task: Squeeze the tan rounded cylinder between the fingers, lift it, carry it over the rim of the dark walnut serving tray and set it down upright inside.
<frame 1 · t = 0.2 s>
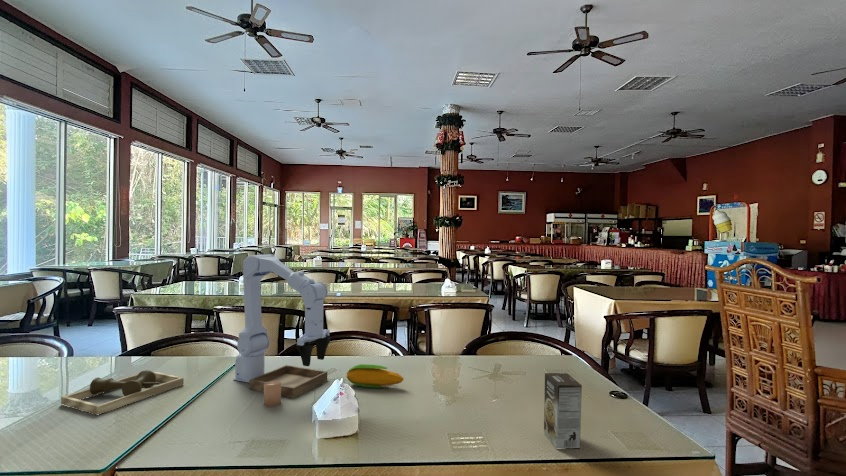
hand: (313, 362, 143), 10 cm above the table, tool pointing down, fingers open, 7 cm apart
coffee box: (561, 441, 113), on the table
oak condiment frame: (126, 394, 139), on the table
corn: (375, 387, 150), on the table
walnut tray: (289, 384, 150), on the table
kendama: (127, 394, 139), resting in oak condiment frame
tan rounded cylinder: (272, 403, 134), on the table
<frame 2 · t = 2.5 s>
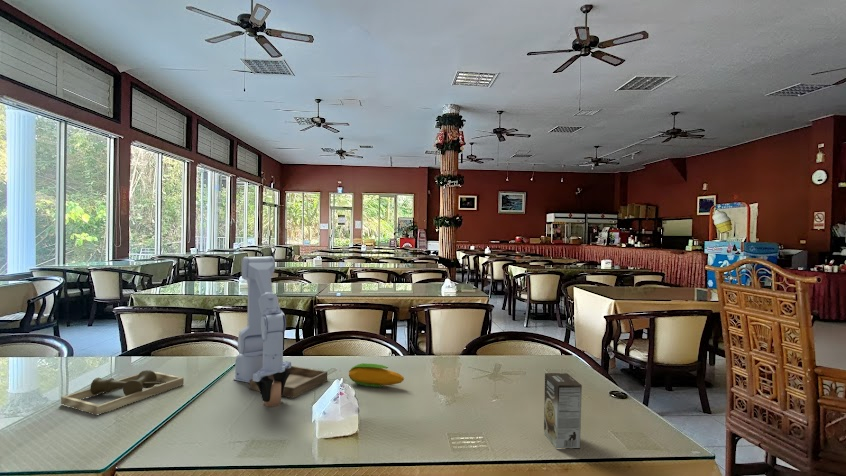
hand: (272, 397, 134), 2 cm above the table, tool pointing down, fingers closed on tan rounded cylinder, 5 cm apart
tan rounded cylinder: (272, 403, 134), on the table, touching gripper
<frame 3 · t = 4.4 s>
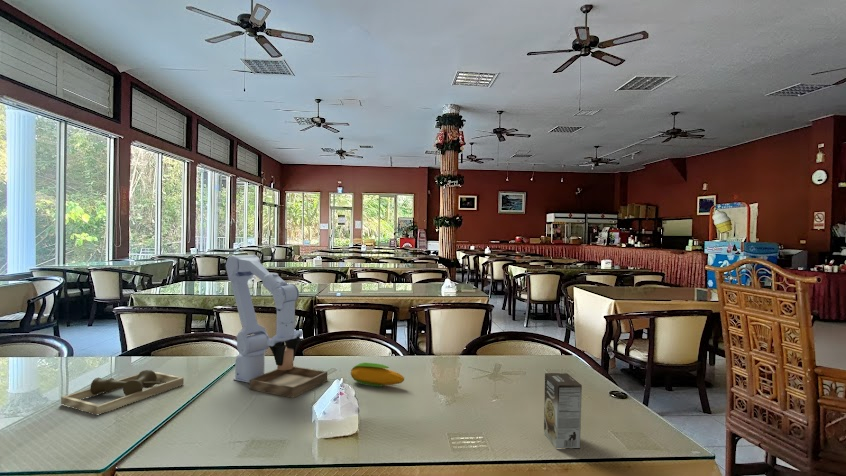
hand: (285, 362, 146), 9 cm above the table, tool pointing down, fingers closed on tan rounded cylinder, 5 cm apart
tan rounded cylinder: (285, 367, 146), point 7 cm above the table, touching gripper
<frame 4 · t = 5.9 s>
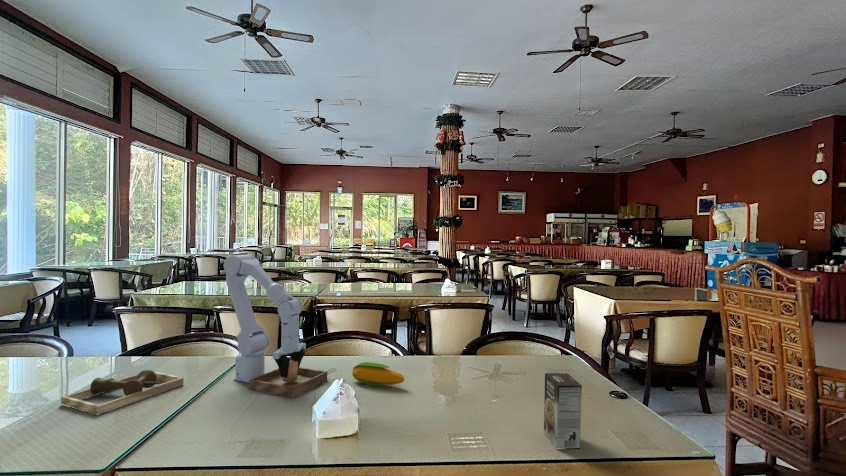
hand: (289, 374, 150), 3 cm above the table, tool pointing down, fingers closed on tan rounded cylinder, 5 cm apart
tan rounded cylinder: (290, 379, 150), point 2 cm above the table, touching gripper
when the fingers open (3 cm above the table, at t = 6.7 s): tan rounded cylinder drops 1 cm, resting on walnut tray.
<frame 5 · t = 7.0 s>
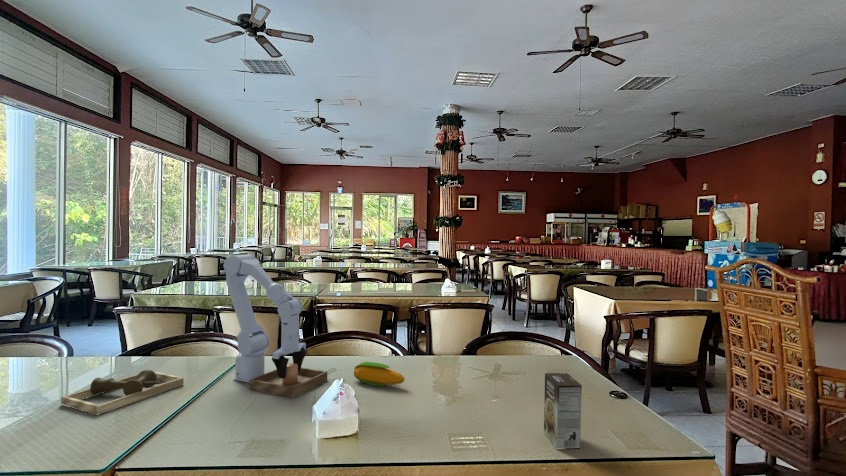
hand: (289, 374, 150), 3 cm above the table, tool pointing down, fingers open, 7 cm apart
tan rounded cylinder: (290, 382, 150), point 1 cm above the table, touching walnut tray
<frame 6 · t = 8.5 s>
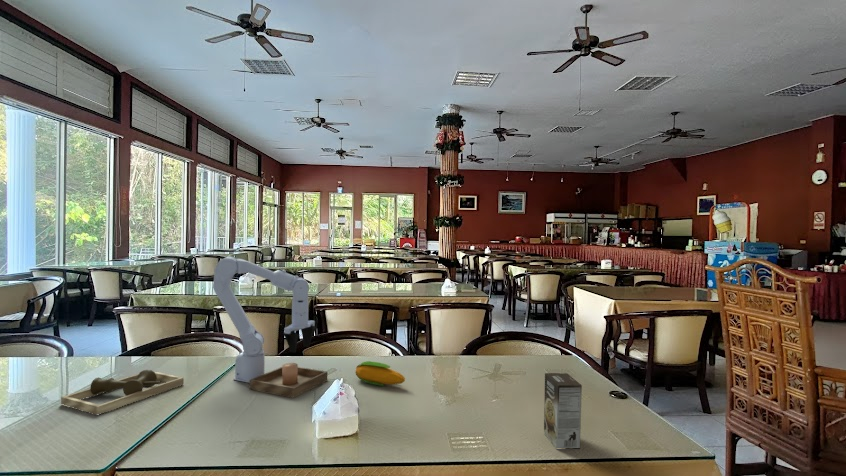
hand: (299, 349, 160), 9 cm above the table, tool pointing down, fingers open, 7 cm apart
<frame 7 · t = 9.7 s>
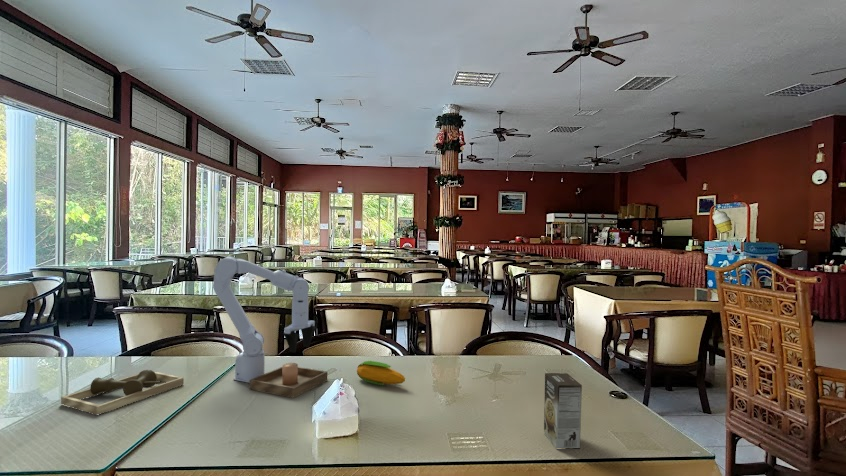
hand: (299, 349, 160), 9 cm above the table, tool pointing down, fingers open, 7 cm apart
at the end: tan rounded cylinder inside the target area on the walnut tray (0.2 cm from its centre), point 0.7 cm above the walnut tray's base; tan rounded cylinder tilted 1°; the gripper is holding nothing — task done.
